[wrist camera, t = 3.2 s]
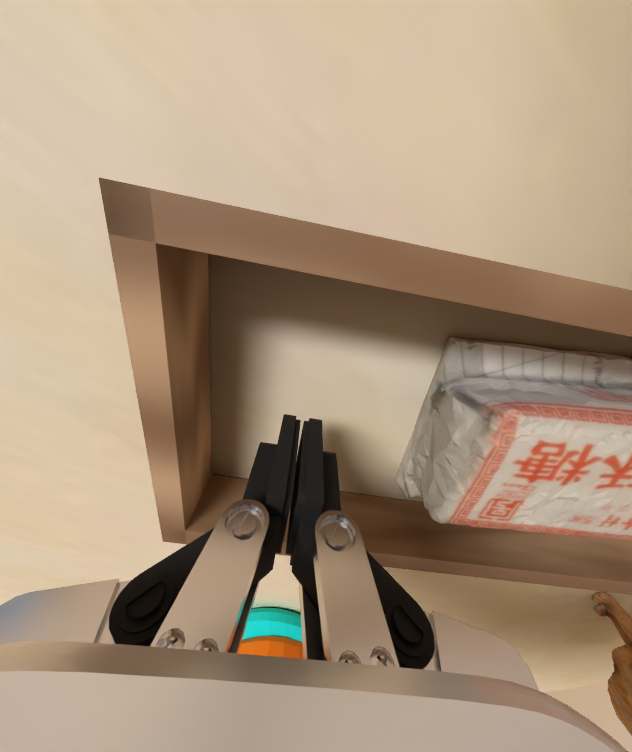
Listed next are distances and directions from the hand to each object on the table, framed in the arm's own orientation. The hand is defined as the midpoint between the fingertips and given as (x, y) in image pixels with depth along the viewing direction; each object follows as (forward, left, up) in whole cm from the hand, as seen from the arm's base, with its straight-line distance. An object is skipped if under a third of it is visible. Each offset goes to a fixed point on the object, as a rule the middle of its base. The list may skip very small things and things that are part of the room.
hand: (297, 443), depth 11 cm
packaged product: (-1, +15, -3) cm, 16 cm away
